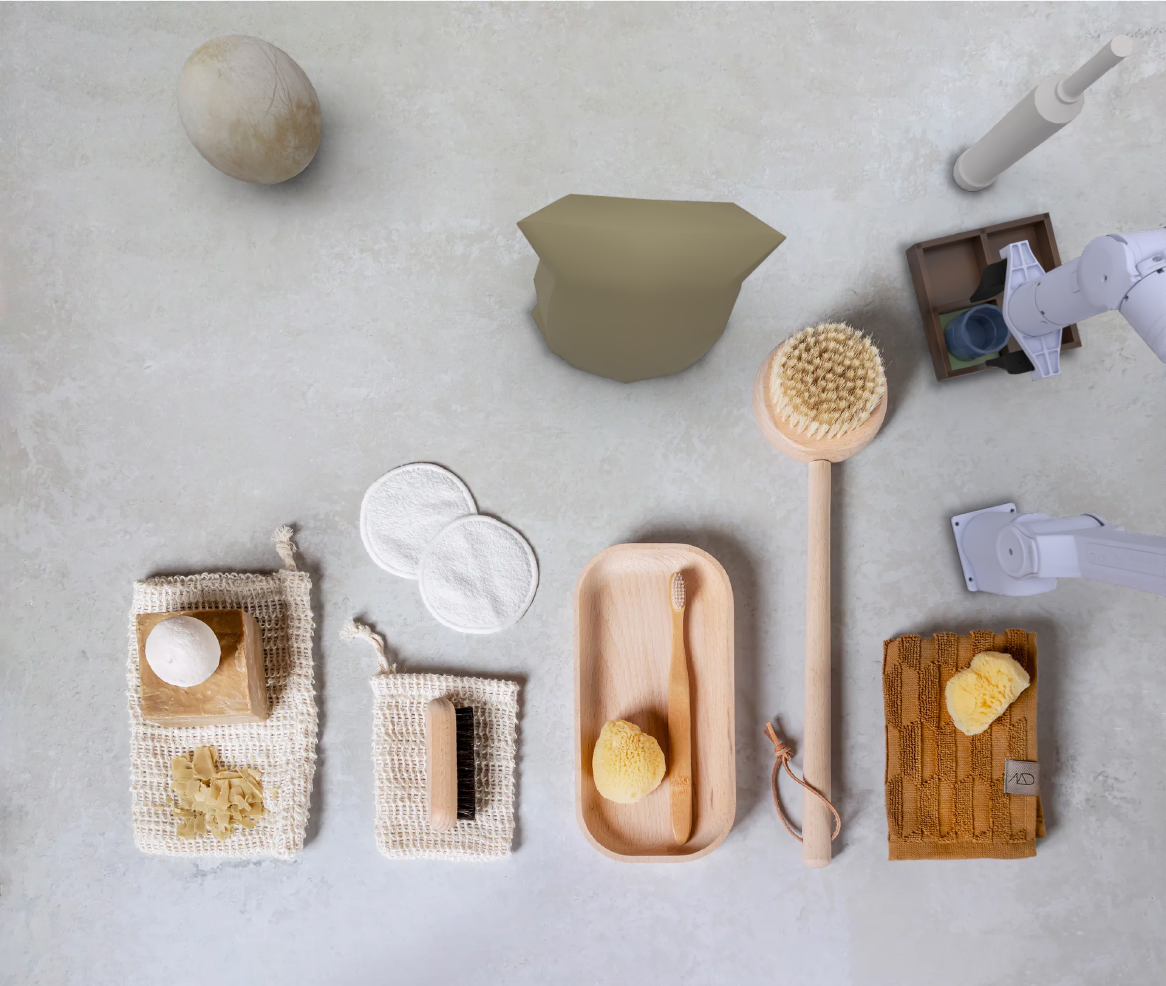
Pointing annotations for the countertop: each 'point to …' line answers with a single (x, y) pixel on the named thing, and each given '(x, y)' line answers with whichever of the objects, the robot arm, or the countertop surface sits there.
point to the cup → (977, 332)
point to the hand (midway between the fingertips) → (986, 330)
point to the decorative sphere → (249, 109)
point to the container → (640, 279)
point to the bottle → (1035, 118)
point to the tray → (974, 283)
